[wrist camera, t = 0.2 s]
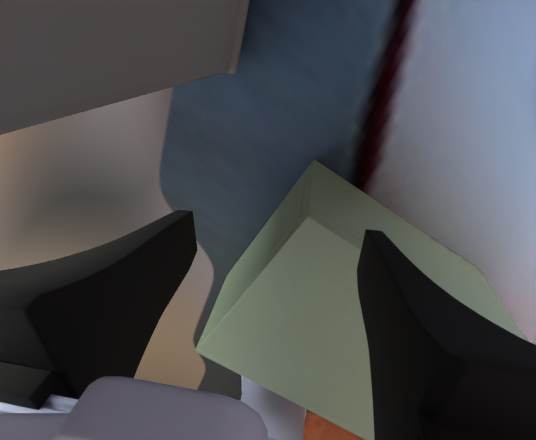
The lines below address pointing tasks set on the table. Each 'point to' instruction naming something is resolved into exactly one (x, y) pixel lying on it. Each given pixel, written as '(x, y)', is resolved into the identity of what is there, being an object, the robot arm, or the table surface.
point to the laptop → (108, 52)
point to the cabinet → (323, 298)
